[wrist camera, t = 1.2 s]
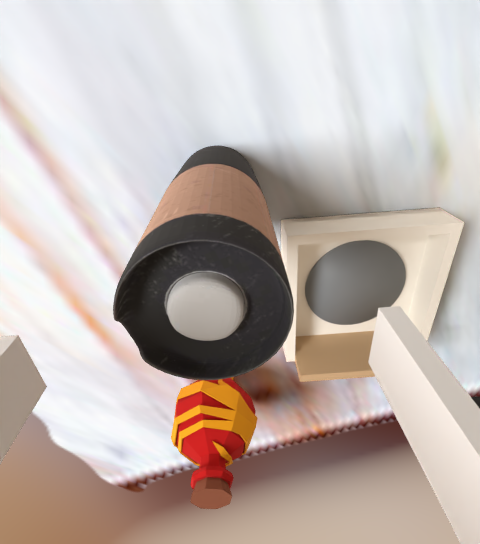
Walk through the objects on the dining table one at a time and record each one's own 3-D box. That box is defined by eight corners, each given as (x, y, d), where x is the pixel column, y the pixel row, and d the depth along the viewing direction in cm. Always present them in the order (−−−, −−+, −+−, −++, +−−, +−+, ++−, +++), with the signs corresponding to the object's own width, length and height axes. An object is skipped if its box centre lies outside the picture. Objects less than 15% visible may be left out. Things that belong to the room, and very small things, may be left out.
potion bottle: (260, 393, 46) (273, 515, 33) (191, 405, 47) (177, 529, 34) (244, 340, 41) (251, 461, 28) (166, 356, 41) (139, 479, 29)
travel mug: (272, 165, 30) (334, 281, 12) (236, 234, 33) (246, 400, 16) (195, 126, 28) (142, 199, 10) (166, 203, 31) (90, 354, 14)
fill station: (281, 219, 32) (293, 251, 26) (439, 207, 32) (487, 236, 26) (281, 337, 41) (290, 382, 35) (407, 328, 40) (438, 371, 34)
